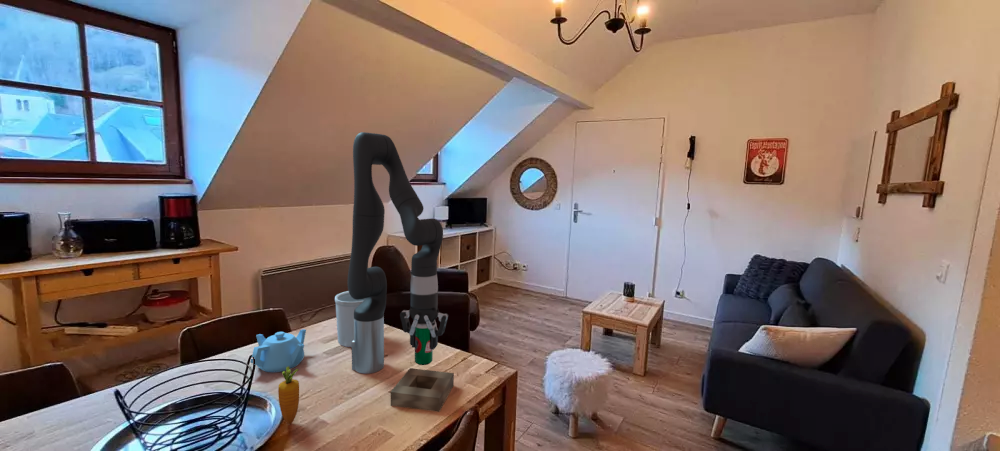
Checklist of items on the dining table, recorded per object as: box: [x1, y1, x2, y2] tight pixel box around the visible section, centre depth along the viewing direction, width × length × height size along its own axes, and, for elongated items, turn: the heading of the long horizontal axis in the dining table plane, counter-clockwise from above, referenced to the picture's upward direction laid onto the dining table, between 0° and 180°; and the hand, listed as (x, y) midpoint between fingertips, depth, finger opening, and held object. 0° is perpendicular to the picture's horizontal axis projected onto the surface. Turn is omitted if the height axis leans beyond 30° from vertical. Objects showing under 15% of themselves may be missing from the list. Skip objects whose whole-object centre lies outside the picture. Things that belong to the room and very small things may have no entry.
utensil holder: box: [334, 290, 365, 348], centre depth 152 cm, size 15×15×18 cm
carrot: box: [277, 366, 300, 425], centre depth 101 cm, size 5×5×15 cm
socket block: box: [390, 367, 455, 413], centre depth 117 cm, size 14×14×4 cm
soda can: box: [414, 323, 434, 366], centre depth 115 cm, size 5×5×12 cm
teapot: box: [250, 328, 307, 373], centre depth 132 cm, size 15×15×11 cm
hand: (423, 347), depth 115 cm, fingers closed on soda can, 5 cm apart
